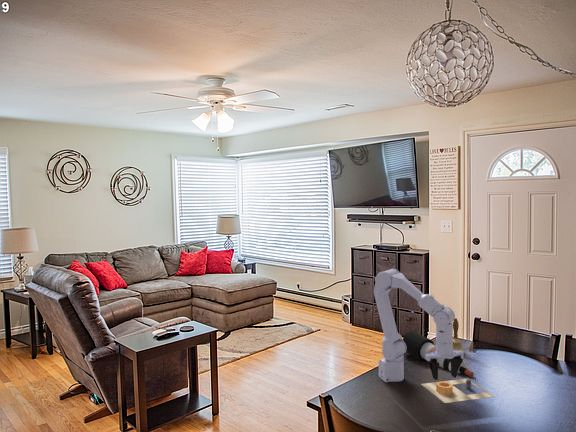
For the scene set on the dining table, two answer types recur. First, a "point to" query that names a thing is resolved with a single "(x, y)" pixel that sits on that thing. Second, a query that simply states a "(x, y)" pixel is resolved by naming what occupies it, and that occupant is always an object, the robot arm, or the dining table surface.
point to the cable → (428, 351)
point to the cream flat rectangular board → (457, 391)
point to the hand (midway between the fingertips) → (444, 377)
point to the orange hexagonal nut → (444, 388)
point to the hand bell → (456, 337)
